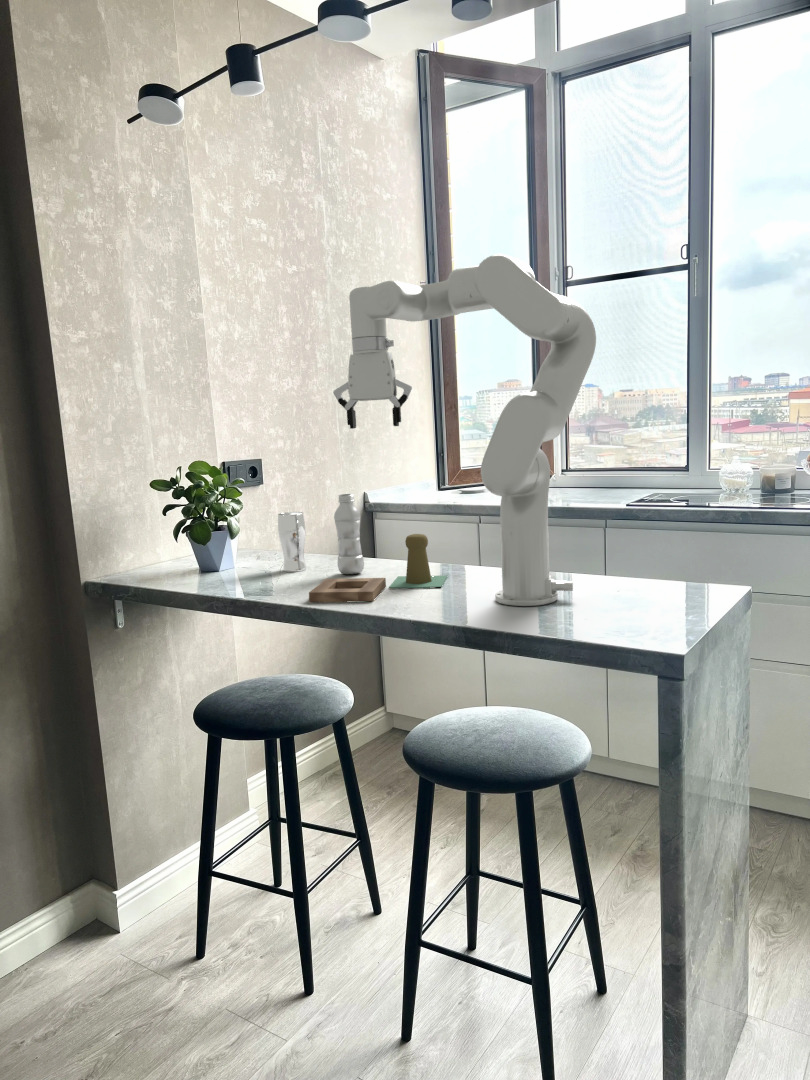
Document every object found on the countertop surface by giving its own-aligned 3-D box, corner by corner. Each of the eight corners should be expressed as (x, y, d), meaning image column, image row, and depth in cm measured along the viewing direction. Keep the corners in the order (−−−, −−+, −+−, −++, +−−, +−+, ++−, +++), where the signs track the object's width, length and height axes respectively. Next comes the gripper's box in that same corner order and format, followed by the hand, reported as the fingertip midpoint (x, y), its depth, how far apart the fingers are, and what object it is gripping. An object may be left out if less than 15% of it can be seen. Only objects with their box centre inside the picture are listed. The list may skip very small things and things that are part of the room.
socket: (386, 587, 180) (385, 577, 180) (373, 601, 166) (372, 591, 166) (326, 588, 182) (326, 578, 182) (309, 602, 169) (308, 592, 168)
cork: (432, 578, 185) (430, 531, 183) (430, 583, 179) (428, 535, 177) (407, 578, 186) (404, 532, 184) (404, 584, 180) (401, 536, 178)
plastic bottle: (361, 576, 194) (356, 495, 191) (335, 576, 195) (329, 496, 192) (367, 571, 200) (362, 492, 197) (341, 571, 201) (336, 493, 198)
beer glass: (279, 573, 204) (274, 515, 202) (284, 567, 211) (279, 512, 209) (305, 571, 204) (301, 514, 201) (310, 566, 211) (305, 511, 208)
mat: (447, 577, 187) (447, 575, 187) (441, 588, 176) (441, 586, 176) (398, 577, 189) (397, 576, 189) (388, 589, 178) (388, 587, 178)
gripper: (412, 345, 172) (416, 424, 175) (335, 351, 175) (340, 428, 178) (406, 343, 165) (410, 425, 167) (326, 348, 168) (332, 429, 170)
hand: (374, 427), depth 172 cm, fingers open, 9 cm apart
